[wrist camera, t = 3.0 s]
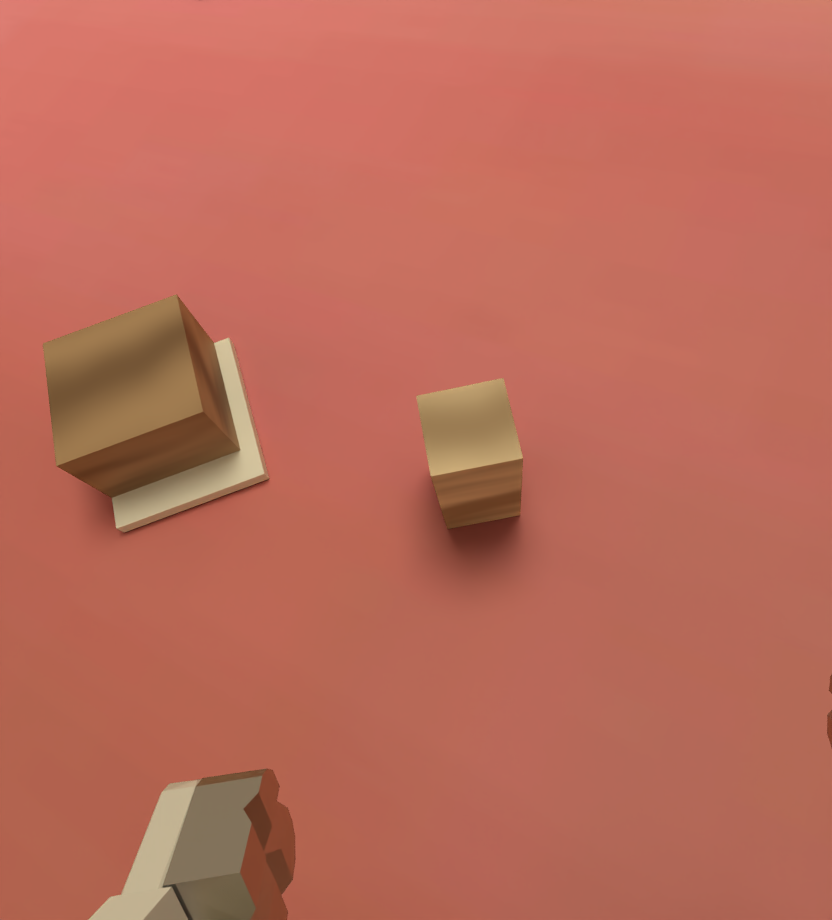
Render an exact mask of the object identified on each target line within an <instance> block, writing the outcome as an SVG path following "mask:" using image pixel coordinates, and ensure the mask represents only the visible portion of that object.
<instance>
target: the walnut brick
mask: <svg viewBox="0 0 832 920" xmlns="http://www.w3.org/2000/svg"><path fill="white" fill-rule="evenodd" d="M43 349H44V358H45V367H46V377H47V386H48V395H49V404H50V413H51V422H52V431H53V440H54V450H55V459H56V466H57V467H59V468H61V469H62V470H64V471H66V472H68V473H69V474H71V475H73V476H75V477H76V478H78V479H80V480H82V481H83V482H85V483H87V484H89V485H90V486H92V487H94V488H96V489H97V490H99V491H101V492H102V493H104V494H106V495H108V496H109V497H111V498H113V497H116V496H118V495H121V494H124V493H126V492H129V491H132V490H134V489H137V488H140V487H143V486H145V485H148V484H151V483H153V482H156V481H159V480H161V479H164V478H167V477H170V476H172V475H175V474H178V473H180V472H183V471H186V470H188V469H191V468H194V467H197V466H199V465H202V464H205V463H207V462H210V461H213V460H215V459H218V458H221V457H224V456H226V455H229V454H232V453H234V452H237V451H240V446H239V442H238V438H237V434H236V430H235V426H234V422H233V418H232V413H231V409H230V405H229V401H228V397H227V393H226V389H225V385H224V381H223V377H222V373H221V369H220V365H219V361H218V357H217V353H216V349H215V345H214V342H213V341H212V340H211V339H210V337H209V336H208V335H207V333H206V332H205V331H204V329H203V328H202V327H201V326H200V324H199V323H198V322H197V320H196V319H195V318H194V316H193V315H192V314H191V313H190V311H189V310H188V309H187V307H186V306H185V305H184V303H183V302H182V301H181V300H180V298H179V297H178V296H177V295H174V296H171V297H168V298H166V299H163V300H160V301H158V302H155V303H152V304H149V305H147V306H144V307H141V308H138V309H136V310H133V311H130V312H128V313H125V314H122V315H119V316H117V317H114V318H111V319H109V320H106V321H103V322H100V323H98V324H95V325H92V326H90V327H87V328H84V329H81V330H79V331H76V332H73V333H71V334H68V335H65V336H62V337H60V338H57V339H54V340H52V341H49V342H46V343H43Z"/></svg>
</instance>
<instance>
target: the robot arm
mask: <svg viewBox="0 0 832 920" xmlns="http://www.w3.org/2000/svg"><path fill="white" fill-rule="evenodd" d="M829 691H830V692H831V693H832V675H831V676H830V686H829ZM827 734H828V738H829V741H830V744H831V747H832V710H831V711H830V713H829V714H828V715H827ZM279 787H280V786H279V783H278V781H277V779H276V776H275V774H274V772H273V770H271V769H261V770H254V771H248V772H241V773H234V774H227V775H220V776H214V777H207V778H202V779H198V780H191V781H184V782H178V783H171V784H169V785H168V786H167V787H166V788H165V789H164V790H163V792H162V793H161V795H160V797H159V800H158V802H157V805H156V807H155V810H154V812H153V815H152V817H151V820H150V822H149V825H148V827H147V830H146V833H145V835H144V838H143V840H142V843H141V845H140V848H139V850H138V853H137V855H136V858H135V860H134V863H133V865H132V868H131V870H130V873H129V876H128V878H127V881H126V883H125V886H124V888H123V891H122V893H121V895H117V896H112V897H110V898H109V899H108V900H107V901H106V902H105V903H104V904H103V905H102V906H101V907H100V908H99V909H98V910H97V911H96V912H95V913H94V914H93V915H92V916H91V917H90V919H89V920H287V916H288V910H287V908H286V905H285V903H284V900H283V898H282V894H283V892H284V891H285V890H286V888H287V887H288V885H289V884H290V883H291V881H292V880H293V875H294V867H295V859H296V856H295V833H294V827H293V822H292V818H291V815H290V813H289V810H288V808H287V807H286V806H284V805H283V804H281V803H279V802H278V801H277V798H278V792H279Z"/></svg>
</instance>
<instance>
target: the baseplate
mask: <svg viewBox="0 0 832 920" xmlns="http://www.w3.org/2000/svg"><path fill="white" fill-rule="evenodd" d="M214 345H215V349H216V353H217V357H218V361H219V365H220V369H221V373H222V377H223V381H224V385H225V389H226V393H227V397H228V401H229V405H230V409H231V413H232V418H233V422H234V426H235V430H236V434H237V438H238V442H239V446H240V451H237V452H234V453H232V454H229V455H226V456H224V457H221V458H218V459H215V460H213V461H210V462H207V463H205V464H202V465H199V466H197V467H194V468H191V469H188V470H186V471H183V472H180V473H178V474H175V475H172V476H170V477H167V478H164V479H161V480H159V481H156V482H153V483H151V484H148V485H145V486H143V487H140V488H137V489H134V490H132V491H129V492H126V493H124V494H121V495H118V496H116V497H113V498H112V502H113V509H114V516H115V523H116V529H118V530H120V531H122V532H127V531H130V530H132V529H135V528H138V527H140V526H143V525H146V524H149V523H151V522H154V521H157V520H159V519H162V518H165V517H167V516H170V515H173V514H176V513H178V512H181V511H184V510H186V509H189V508H192V507H194V506H197V505H200V504H202V503H205V502H208V501H211V500H213V499H216V498H219V497H221V496H224V495H227V494H229V493H232V492H235V491H238V490H240V489H243V488H246V487H248V486H251V485H254V484H256V483H259V482H262V481H264V480H267V479H269V476H268V472H267V469H266V465H265V461H264V457H263V453H262V450H261V446H260V442H259V438H258V434H257V431H256V427H255V423H254V419H253V415H252V412H251V408H250V404H249V400H248V396H247V393H246V389H245V385H244V381H243V377H242V374H241V370H240V366H239V362H238V359H237V355H236V351H235V347H234V344H233V343H232V341H231V340H230V339H229V338H227V339H224V340H221V341H218V342H216V343H214Z"/></svg>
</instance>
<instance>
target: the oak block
mask: <svg viewBox="0 0 832 920" xmlns="http://www.w3.org/2000/svg"><path fill="white" fill-rule="evenodd" d="M416 397H417V402H418V408H419V413H420V419H421V425H422V430H423V436H424V441H425V447H426V453H427V458H428V464H429V469H430V475H431V479H432V482H433V485H434V488H435V492H436V495H437V498H438V501H439V504H440V507H441V511H442V514H443V517H444V520H445V523H446V526H447V529H451V528H456V527H461V526H466V525H472V524H477V523H482V522H487V521H493V520H498V519H503V518H508V517H514V516H519V515H520V508H521V488H522V468H523V456H522V452H521V448H520V444H519V440H518V436H517V432H516V428H515V424H514V420H513V416H512V411H511V407H510V403H509V399H508V395H507V391H506V387H505V383H504V379H503V378H502V379H497V380H492V381H487V382H482V383H477V384H472V385H467V386H463V387H458V388H453V389H448V390H443V391H438V392H433V393H428V394H423V395H419V396H416Z"/></svg>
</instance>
